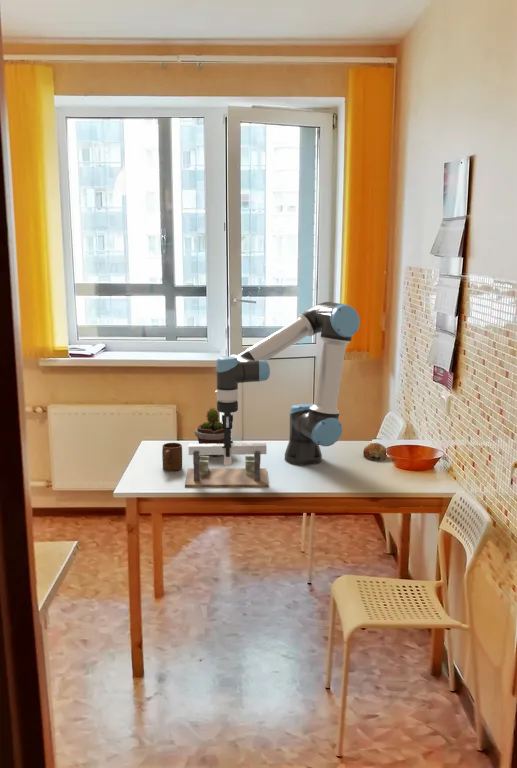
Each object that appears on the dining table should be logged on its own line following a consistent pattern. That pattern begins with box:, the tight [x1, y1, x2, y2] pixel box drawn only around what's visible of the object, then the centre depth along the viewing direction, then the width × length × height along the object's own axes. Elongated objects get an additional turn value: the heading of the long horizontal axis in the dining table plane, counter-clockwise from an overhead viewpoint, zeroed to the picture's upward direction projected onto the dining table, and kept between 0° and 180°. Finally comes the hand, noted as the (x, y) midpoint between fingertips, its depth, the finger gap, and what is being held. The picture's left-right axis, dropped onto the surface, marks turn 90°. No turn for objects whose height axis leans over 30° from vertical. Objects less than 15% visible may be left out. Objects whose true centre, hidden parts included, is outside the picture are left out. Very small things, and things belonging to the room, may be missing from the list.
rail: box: [188, 442, 267, 456], centre depth 240 cm, size 28×3×3 cm, turn 92°
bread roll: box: [363, 442, 388, 462], centre depth 274 cm, size 10×10×8 cm
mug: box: [161, 442, 183, 472], centre depth 254 cm, size 12×8×9 cm, turn 170°
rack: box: [184, 453, 270, 488], centre depth 245 cm, size 30×18×12 cm, turn 92°
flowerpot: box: [194, 406, 224, 458], centre depth 274 cm, size 14×15×20 cm
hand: (227, 462), depth 241 cm, fingers closed on rail, 3 cm apart
